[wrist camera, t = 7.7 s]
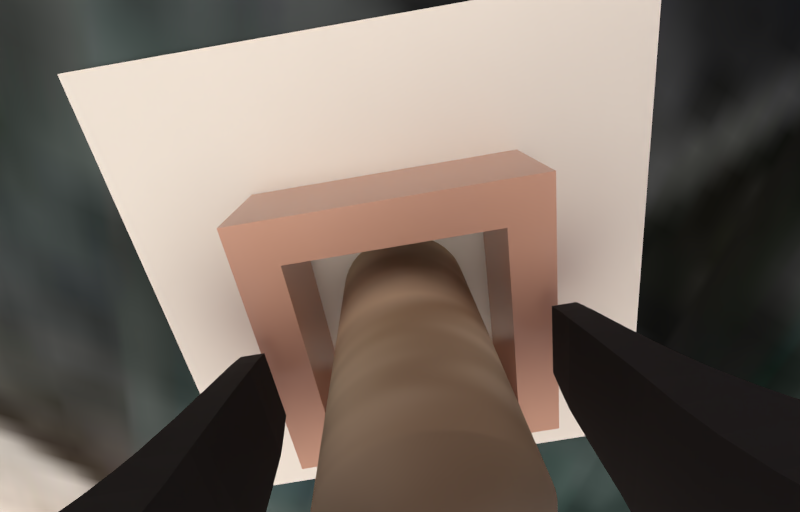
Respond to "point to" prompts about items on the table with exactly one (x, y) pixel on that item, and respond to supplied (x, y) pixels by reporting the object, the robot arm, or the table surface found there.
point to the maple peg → (422, 398)
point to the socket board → (385, 181)
